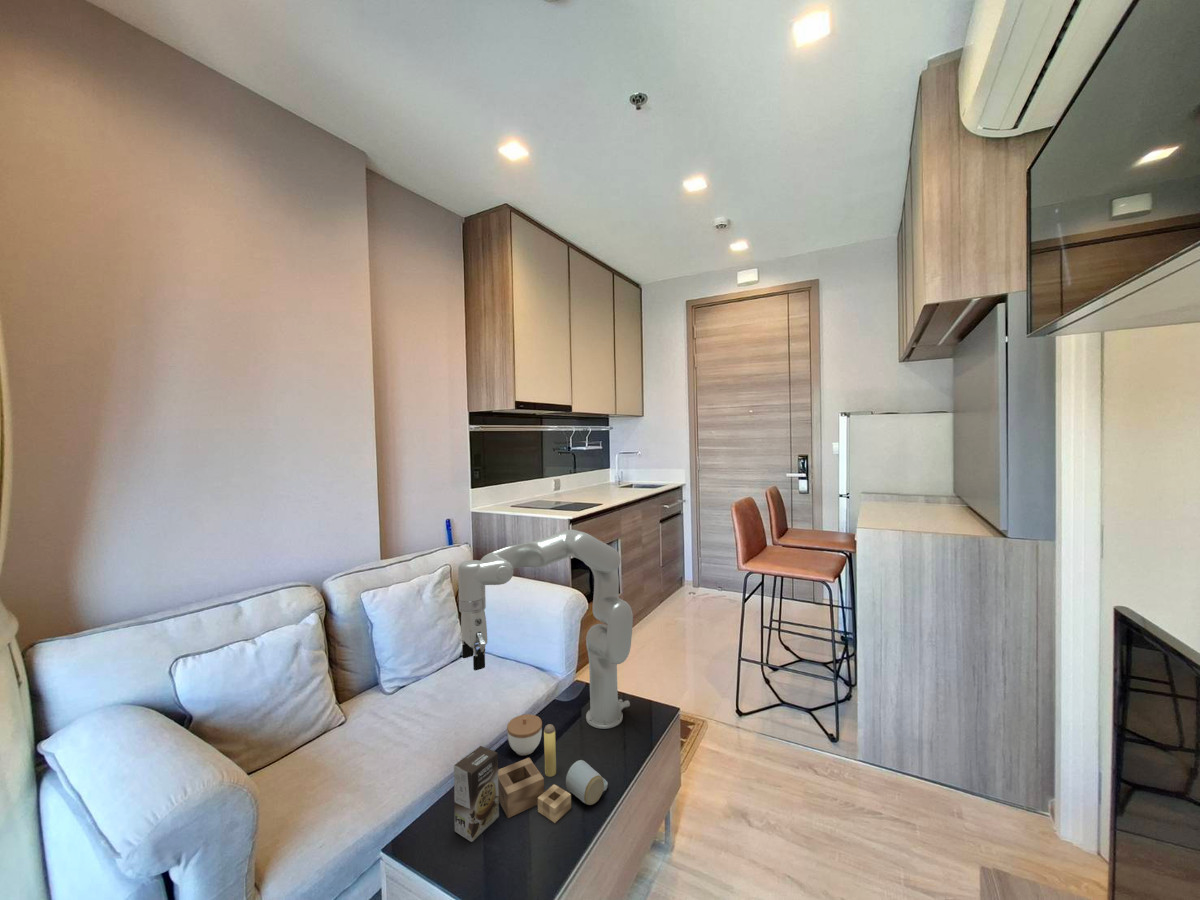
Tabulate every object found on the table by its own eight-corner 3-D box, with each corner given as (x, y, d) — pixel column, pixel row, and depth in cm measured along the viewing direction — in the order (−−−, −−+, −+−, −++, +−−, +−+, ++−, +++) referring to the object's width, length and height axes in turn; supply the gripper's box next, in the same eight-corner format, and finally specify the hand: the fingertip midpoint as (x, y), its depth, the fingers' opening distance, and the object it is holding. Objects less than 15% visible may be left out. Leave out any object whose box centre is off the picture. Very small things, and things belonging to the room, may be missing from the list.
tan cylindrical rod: (553, 767, 132) (552, 720, 132) (558, 773, 129) (556, 725, 129) (543, 771, 130) (541, 724, 130) (547, 778, 127) (546, 729, 128)
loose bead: (554, 797, 120) (554, 784, 120) (571, 807, 116) (570, 794, 117) (537, 811, 116) (537, 797, 116) (554, 823, 112) (554, 808, 112)
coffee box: (472, 843, 107) (470, 774, 107) (453, 832, 110) (452, 764, 110) (500, 816, 114) (498, 752, 114) (482, 806, 118) (480, 744, 118)
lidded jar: (546, 738, 145) (545, 709, 145) (538, 761, 135) (537, 729, 135) (513, 737, 146) (512, 708, 147) (503, 759, 136) (502, 728, 136)
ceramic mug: (585, 813, 115) (585, 782, 115) (565, 796, 120) (564, 767, 121) (614, 791, 122) (614, 762, 122) (593, 776, 128) (593, 749, 128)
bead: (529, 778, 127) (529, 757, 127) (544, 801, 119) (543, 778, 119) (494, 793, 122) (494, 771, 122) (508, 818, 114) (507, 794, 114)
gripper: (495, 609, 128) (496, 670, 127) (474, 594, 142) (476, 649, 142) (469, 614, 123) (470, 678, 123) (450, 599, 138) (451, 656, 137)
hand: (473, 662), depth 132 cm, fingers open, 9 cm apart
